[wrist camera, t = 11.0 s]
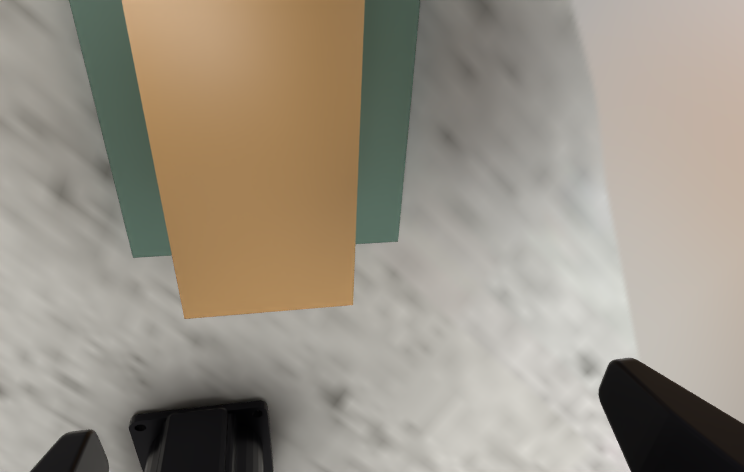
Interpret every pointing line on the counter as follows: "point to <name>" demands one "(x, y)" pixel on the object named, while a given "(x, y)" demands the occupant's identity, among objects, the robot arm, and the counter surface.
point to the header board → (377, 119)
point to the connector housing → (254, 146)
